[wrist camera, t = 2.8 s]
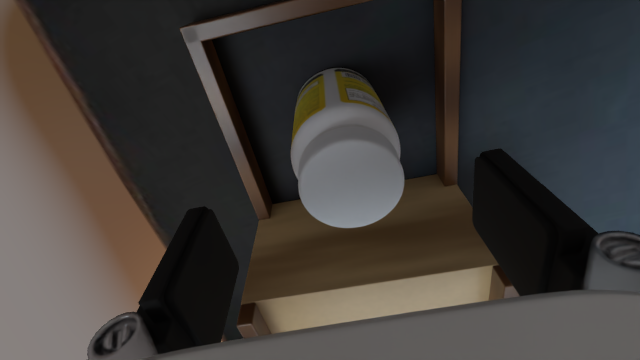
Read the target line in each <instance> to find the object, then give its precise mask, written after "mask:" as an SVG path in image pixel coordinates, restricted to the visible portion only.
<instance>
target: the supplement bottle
mask: <svg viewBox="0 0 640 360" xmlns="http://www.w3.org/2000/svg"><path fill="white" fill-rule="evenodd" d="M400 152H401V151H400V142H399V138H398V134H397V132H396V129H395V127H394V125H393V124H392V122H391V120H390V118H389V116H388V114H387V113H386V111H385V109H384V107H383V105H382V103H381V101H380V100H379V98H378V96H377V94H376V92H375V90H374V88H373V87H372V85H371V84H370V83H369V82H368V80H367V79H366V78H364V77H363V76H362V75H361V74H359V73H357V72H355V71H353V70H350V69H345V68H331V69H327V70H324V71H322V72H319V73H317V74H316V75H314V76H313V77H311V78H310V79H309V80H308V81H307V82H306V83H305V84H304V85H303V87H302V88H301V90H300V92H299V95H298V97H297V101H296V107H295V117H294V125H293V135H292V144H291V162H292V167H293V170H294V173H295V175H296V177H297V179H298V190H299V196H300V199H301V201H302V203H303V205H304V207H305V208H306V210H307V211H308V212H309V213H310V214H311V215H312V216H313V217H315V218H316V219H317V220H319V221H321V222H323V223H325V224H327V225H330V226H334V227H339V228H357V227H362V226H366V225H369V224H372V223H374V222H376V221H378V220H380V219H382V218H383V217H384V216H386V215H387V214H388V213H389V212H390V211H391V210H392V209H393V208H394V207H395V206H396V205H397V203H398V202H399V200H400V198H401V196H402V193H403V189H404V171H403V168H402V165H401V163H400Z"/></svg>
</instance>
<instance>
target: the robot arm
mask: <svg viewBox="0 0 640 360" xmlns="http://www.w3.org/2000/svg"><path fill="white" fill-rule="evenodd" d="M472 221H473V225H474V228H475V229H476V231H477V232H478V234H479V235H480V237H481V238H482V240H483V241H484V243H485V244H486V246H487V247H488V249H489V250H490V252H491V253H492V255H493V256H494V258H495V259H496V261H497V263H498V264H499V266H500V267H501V269H502V270H503V272H504V273H505V275H506V276H507V278H508V279H509V281H510V282H511V284H512V285H513V287H514V288H515V290H516V291H517V293H518V294H519V297H511V298H504V299H497V300H489V301H482V302H475V303H469V304H462V305H455V306H449V307H442V308H435V309H429V310H422V311H415V312H409V313H402V314H396V315H389V316H383V317H376V318H370V319H363V320H357V321H350V322H344V323H338V324H331V325H325V326H319V327H312V328H306V329H300V330H293V331H287V332H281V333H275V334H269V335H262V336H256V337H250V338H244V339H238V340H231V341H226V342H221V339H222V335H223V331H224V327H225V323H226V319H227V315H228V311H229V307H230V303H231V299H232V295H233V290H234V286H235V282H236V278H237V274H238V270H239V265H238V261H237V259H236V257H235V255H234V252H233V250H232V248H231V246H230V244H229V242H228V240H227V238H226V236H225V234H224V232H223V230H222V228H221V226H220V224H219V222H218V220H217V218H216V216H215V214H214V212H213V211H212V210H211V209H209V210H208V208H206V207H199V208H193V209H189V210H188V211H187V213H186V215H185V216H184V218H183V220H182V222H181V224H180V226H179V228H178V230H177V231H176V233H175V235H174V237H173V239H172V241H171V243H170V245H169V246H168V248H167V250H166V252H165V254H164V256H163V258H162V260H161V261H160V264H159V265H158V267H157V269H156V271H155V273H154V275H153V277H152V278H151V280H150V282H149V284H148V286H147V288H146V290H145V292H144V293H143V295H142V297H141V299H140V301H139V305H140V306H139V309H138V310H137V312H127V313H124V314H121V315H118V316H116V317H115V318H113V319H111V320H110V321H108V322H107V323H106V324H105V325H103V326H102V327H101V328H100V329H99V330H98V331H97V332H96V334H95V335H94V337H93V338H92V340H91V341H90V344H89V346H88V353H87V355H88V360H640V235H638V234H634V233H631V232H624V231H607V232H603V233H599V234H598V233H597V232H596V231H595V230H594V229H593V228H592V227H590V226H589V225H588V224H587V223H586V222H585V221H584V220H582V219H581V218H580V217H579V216H578V215H577V214H576V213H574V212H573V211H572V210H571V209H570V208H569V207H568V206H566V205H565V204H564V203H563V202H562V201H561V200H560V199H558V198H557V197H556V196H555V195H554V194H553V193H552V192H550V191H549V190H548V189H547V188H546V187H545V186H544V185H542V184H541V183H540V182H539V181H537V180H536V179H535V178H534V177H533V176H532V175H531V174H529V173H528V172H527V171H526V170H525V169H524V168H523V167H522V166H520V165H519V164H518V163H517V162H516V161H515V160H514V159H512V158H511V157H510V156H509V155H508V154H507V153H506V152H504V151H503V150H502V149H494V150H489V151H484V152H482V153H481V154H480V157H477V158H476V159H475V169H474V190H473V211H472Z"/></svg>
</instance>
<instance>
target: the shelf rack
mask: <svg viewBox="0 0 640 360" xmlns="http://www.w3.org/2000/svg"><path fill="white" fill-rule="evenodd" d="M368 1H372V0H282V1H278V2H274V3H270V4H266V5H262V6H258V7H254V8H250V9H246V10H242V11H238V12H234V13H230V14H226V15H222V16H218V17H214V18H210V19H206V20H202V21H198V22H194V23H190V24H188V25H185V26H183V27H180V31H181V34H182V36H183V39H184V41H185V43H186V46H187V48H188V51H189V53H190V55H191V58H192V60H193V63H194V65H195V67H196V70H197V72H198V75H199V77H200V79H201V82H202V84H203V87H204V89H205V91H206V94H207V96H208V99H209V101H210V104H211V106H212V108H213V111H214V113H215V116H216V118H217V120H218V123H219V125H220V128H221V130H222V132H223V135H224V137H225V140H226V142H227V144H228V147H229V149H230V152H231V154H232V156H233V159H234V161H235V164H236V166H237V168H238V171H239V173H240V176H241V178H242V181H243V183H244V185H245V188H246V190H247V193H248V195H249V197H250V200H251V202H252V205H253V207H254V209H255V212H256V214H257V217H258V219H259V224H258V228H257V233H256V237H255V242H254V246H253V251H252V256H251V260H250V265H249V269H248V274H247V278H246V283H245V288H244V292H243V297H242V301H241V307H240V312H239V317H238V321H237V328H238V329H239V331H240V333H241V334H242V336H243V337H244V338H250V337H256V336H262V335H269V334H275V333H281V332H287V331H293V330H300V329H306V328H312V327H319V326H325V325H331V324H338V323H344V322H350V321H357V320H363V319H370V318H376V317H383V316H389V315H396V314H402V313H409V312H415V311H422V310H429V309H435V308H442V307H449V306H455V305H462V304H469V303H475V302H482V301H489V300H497V299H504V298H511V297H519V294H518V293H517V291H516V290H515V288H514V287H513V285H512V284H511V282H510V281H509V279H508V278H507V276H506V275H505V273H504V272H503V270H502V269H501V267H500V266H499V264H498V263H497V261H496V259H495V258H494V256H493V255H492V253H491V252H490V250H489V249H488V247H487V246H486V244H485V243H484V241H483V240H482V238H481V237H480V235H479V234H478V232H477V231H476V229H475V228H474V225H473V221H472V211H473V208H472V206H471V205H470V203H469V202H468V200H467V199H466V197H465V196H464V194H463V193H462V191H461V190H460V188H459V187H458V185H457V174H458V131H459V89H460V47H461V5H462V0H434V49H435V105H436V160H437V174H435V175H429V176H424V177H418V178H413V179H407V180H404V189H403V193H402V196H401V198H400V200H399V202H398V203H397V205H396V206H395V207H394V208H393V209H392V210H391V211H390V212H389V213H388V214H387V215H386V216H384V217H383V218H382V219H380V220H378V221H376V222H374V223H372V224H369V225H366V226H362V227H357V228H339V227H334V226H330V225H327V224H325V223H323V222H321V221H319V220H317V219H316V218H315V217H313V216H312V215H311V214H310V213H309V212H308V211H307V210H306V208H305V207H304V205H303V203H302V201H301V199H299V200H293V201H288V202H283V203H277V204H272V201H271V198H270V196H269V193H268V190H267V188H266V185H265V182H264V179H263V177H262V174H261V171H260V169H259V166H258V163H257V161H256V158H255V155H254V153H253V150H252V147H251V145H250V142H249V139H248V136H247V134H246V131H245V128H244V126H243V123H242V120H241V118H240V115H239V112H238V110H237V107H236V104H235V101H234V99H233V96H232V93H231V91H230V88H229V85H228V83H227V80H226V77H225V75H224V72H223V69H222V67H221V64H220V61H219V58H218V56H217V53H216V50H215V48H214V45H213V42H212V39H216V38H220V37H224V36H228V35H232V34H236V33H240V32H244V31H249V30H253V29H257V28H261V27H265V26H269V25H273V24H277V23H282V22H286V21H290V20H294V19H298V18H302V17H306V16H310V15H314V14H319V13H323V12H327V11H331V10H335V9H339V8H343V7H347V6H352V5H356V4H360V3H364V2H368Z"/></svg>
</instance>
